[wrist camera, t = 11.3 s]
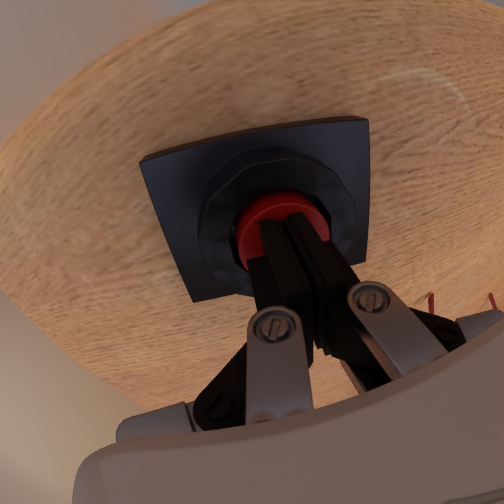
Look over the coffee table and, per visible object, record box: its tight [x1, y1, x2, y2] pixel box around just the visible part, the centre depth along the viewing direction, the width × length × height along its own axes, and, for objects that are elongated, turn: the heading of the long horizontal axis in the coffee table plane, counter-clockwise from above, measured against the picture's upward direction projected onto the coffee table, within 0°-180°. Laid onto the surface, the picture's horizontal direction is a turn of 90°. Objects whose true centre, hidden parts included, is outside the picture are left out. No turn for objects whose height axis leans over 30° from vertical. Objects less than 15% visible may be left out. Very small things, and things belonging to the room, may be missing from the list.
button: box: [235, 188, 330, 270], centre depth 11 cm, size 4×4×2 cm
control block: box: [139, 116, 370, 303], centre depth 12 cm, size 10×8×3 cm
